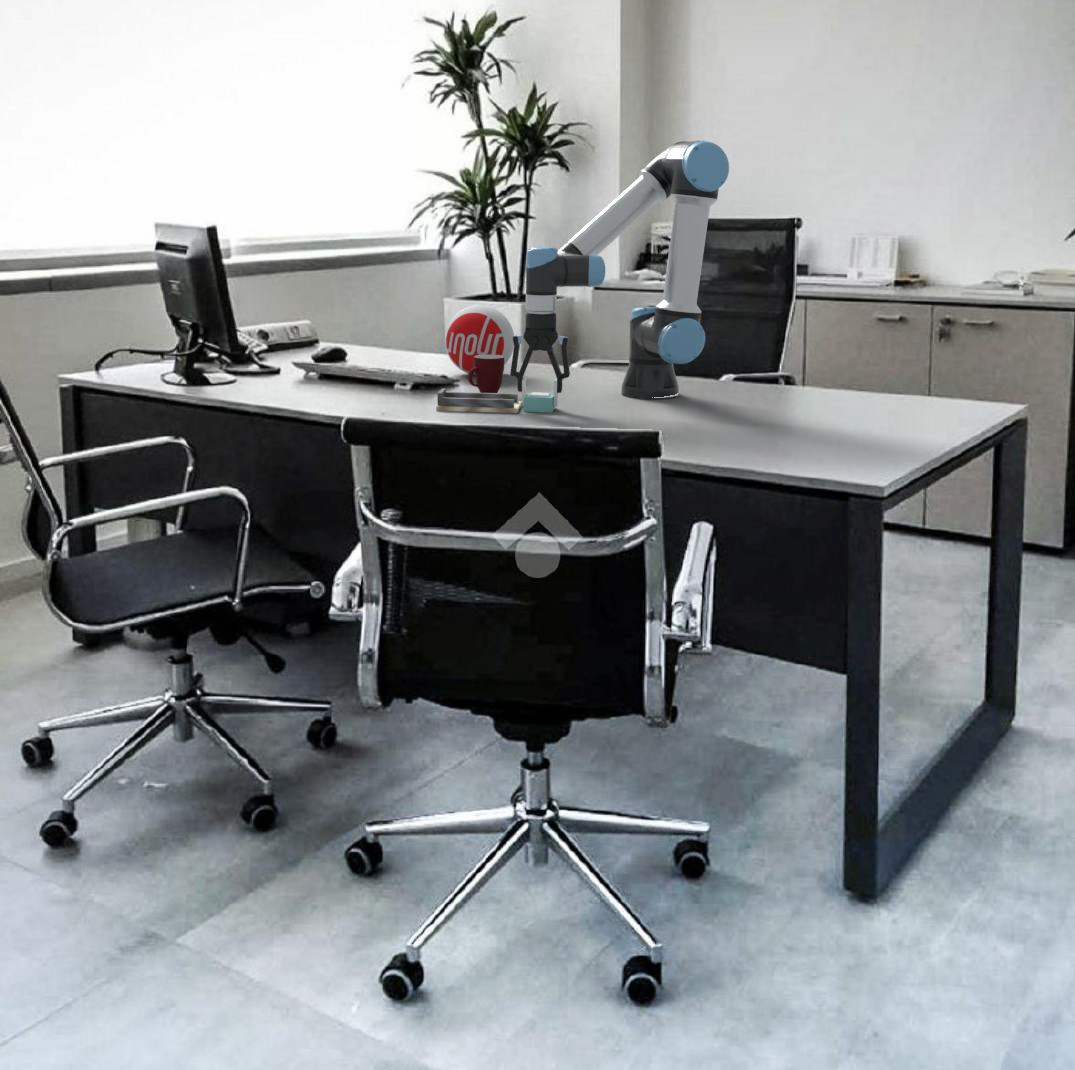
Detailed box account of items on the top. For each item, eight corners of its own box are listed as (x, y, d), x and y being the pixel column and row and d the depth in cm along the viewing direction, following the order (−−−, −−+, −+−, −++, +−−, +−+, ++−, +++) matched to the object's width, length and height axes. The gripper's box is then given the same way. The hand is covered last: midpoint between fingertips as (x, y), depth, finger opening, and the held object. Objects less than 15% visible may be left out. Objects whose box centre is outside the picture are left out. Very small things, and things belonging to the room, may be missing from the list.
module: (555, 408, 329) (555, 392, 328) (551, 412, 324) (552, 396, 322) (527, 407, 330) (527, 391, 329) (523, 411, 324) (523, 395, 323)
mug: (481, 399, 340) (481, 360, 337) (460, 395, 345) (460, 357, 343) (510, 394, 348) (510, 356, 345) (489, 390, 353) (489, 353, 350)
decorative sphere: (436, 378, 371) (435, 307, 366) (456, 368, 390) (455, 300, 385) (504, 382, 367) (505, 309, 362) (521, 371, 386) (521, 302, 380)
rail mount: (521, 405, 333) (522, 389, 332) (517, 412, 322) (517, 396, 321) (443, 402, 334) (443, 387, 333) (436, 410, 324) (436, 394, 323)
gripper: (583, 311, 323) (581, 403, 329) (501, 309, 325) (501, 401, 331) (581, 314, 316) (579, 409, 322) (498, 312, 318) (497, 406, 324)
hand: (539, 405), depth 327 cm, fingers closed on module, 7 cm apart
